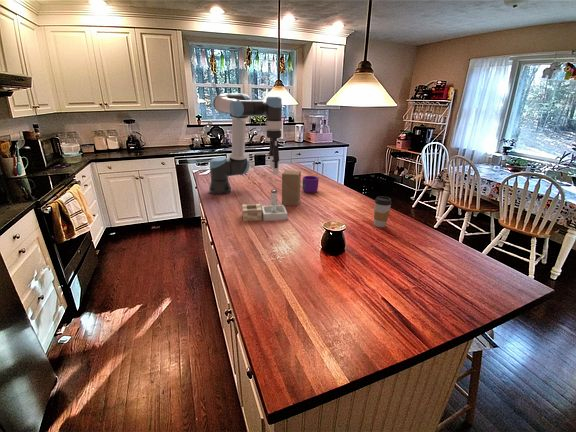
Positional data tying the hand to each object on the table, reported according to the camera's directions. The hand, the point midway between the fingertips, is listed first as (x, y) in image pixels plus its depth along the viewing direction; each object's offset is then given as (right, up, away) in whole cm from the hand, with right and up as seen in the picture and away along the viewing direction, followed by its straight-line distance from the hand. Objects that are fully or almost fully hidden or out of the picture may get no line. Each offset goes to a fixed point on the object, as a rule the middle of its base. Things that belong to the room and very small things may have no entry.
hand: (273, 170), depth 155 cm
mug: (+23, -5, +57) cm, 62 cm away
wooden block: (+9, -16, +30) cm, 36 cm away
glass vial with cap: (0, -23, +10) cm, 25 cm away
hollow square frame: (-13, -25, +8) cm, 29 cm away
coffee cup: (+57, -29, +1) cm, 64 cm away
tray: (0, -24, +10) cm, 26 cm away
